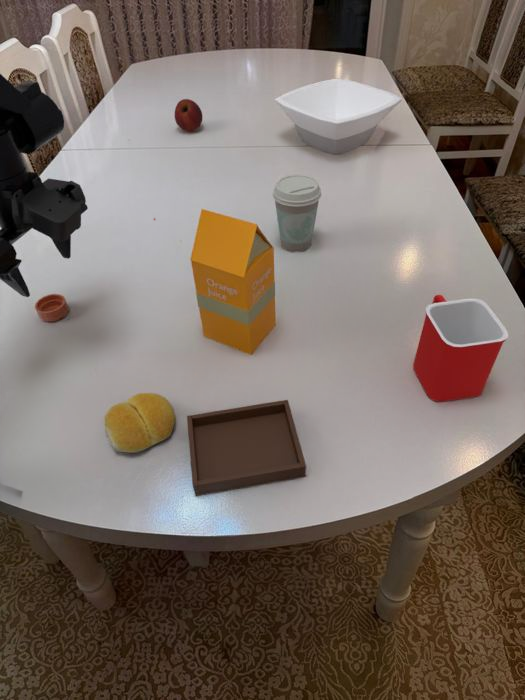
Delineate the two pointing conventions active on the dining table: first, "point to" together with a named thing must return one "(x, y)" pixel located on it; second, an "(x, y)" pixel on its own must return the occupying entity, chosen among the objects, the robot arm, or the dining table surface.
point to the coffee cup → (296, 210)
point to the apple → (188, 115)
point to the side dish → (51, 307)
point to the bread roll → (139, 422)
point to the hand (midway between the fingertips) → (47, 276)
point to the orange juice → (233, 281)
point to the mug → (457, 348)
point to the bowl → (337, 113)
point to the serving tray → (244, 447)
